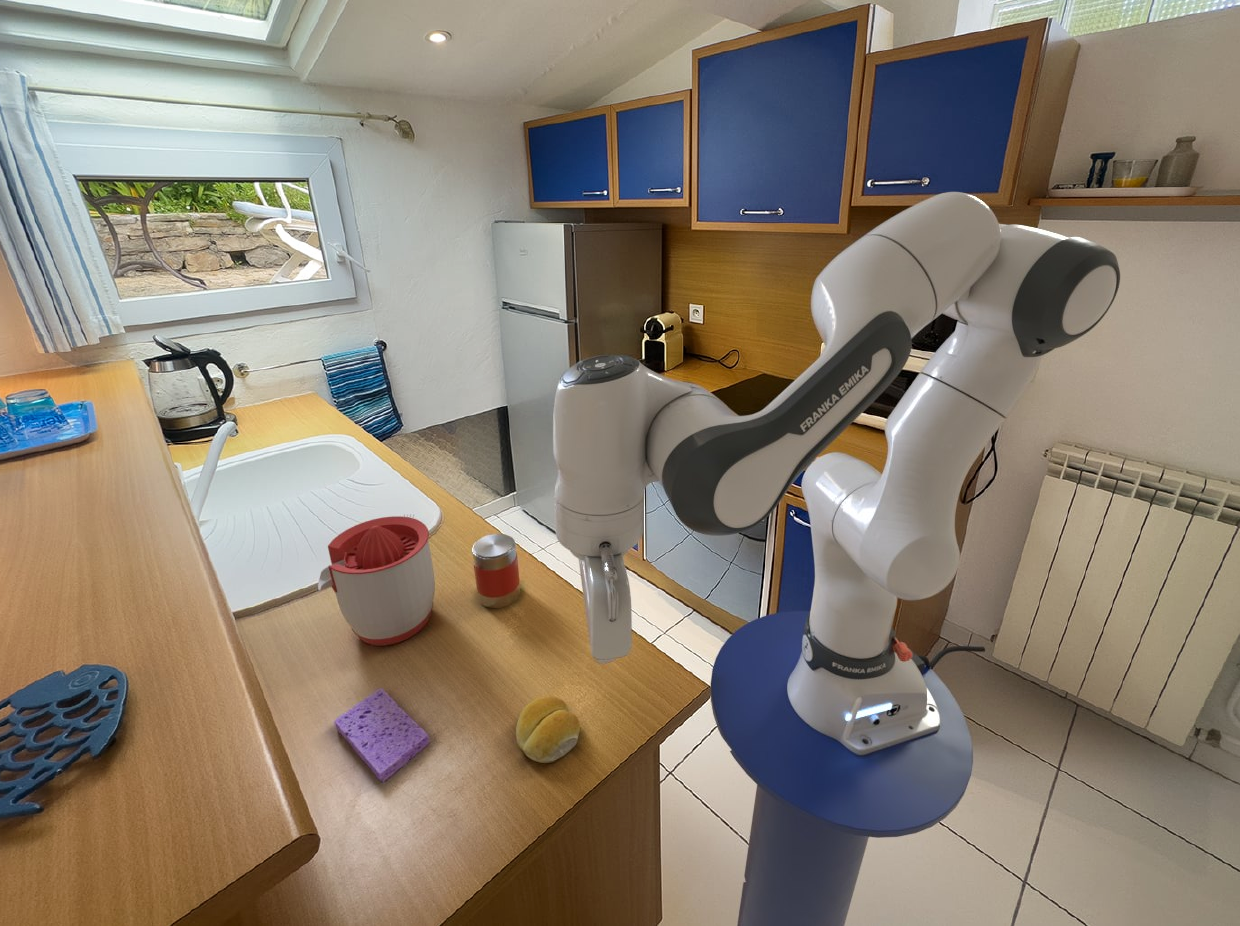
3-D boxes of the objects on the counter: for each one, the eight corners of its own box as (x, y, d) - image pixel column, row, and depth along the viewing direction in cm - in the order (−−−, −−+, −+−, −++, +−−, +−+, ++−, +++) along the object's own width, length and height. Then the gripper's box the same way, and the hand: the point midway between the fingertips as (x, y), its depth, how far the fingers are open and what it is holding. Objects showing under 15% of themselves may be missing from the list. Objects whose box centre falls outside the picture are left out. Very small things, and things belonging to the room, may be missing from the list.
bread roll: (555, 697, 81) (553, 677, 80) (589, 739, 75) (588, 719, 73) (504, 729, 76) (502, 708, 75) (536, 777, 70) (534, 756, 68)
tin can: (522, 579, 106) (518, 531, 101) (518, 607, 99) (513, 556, 94) (482, 581, 105) (475, 533, 101) (474, 610, 98) (467, 559, 94)
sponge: (383, 695, 81) (380, 686, 80) (431, 743, 74) (429, 733, 73) (335, 729, 76) (332, 720, 75) (382, 784, 69) (379, 774, 68)
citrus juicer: (332, 612, 97) (306, 518, 89) (434, 582, 105) (418, 492, 97) (335, 675, 84) (305, 572, 76) (450, 635, 92) (433, 537, 84)
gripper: (651, 580, 45) (645, 700, 50) (616, 468, 64) (614, 564, 69) (576, 588, 44) (578, 710, 49) (562, 471, 62) (564, 569, 68)
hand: (599, 624), depth 59 cm, fingers open, 8 cm apart
